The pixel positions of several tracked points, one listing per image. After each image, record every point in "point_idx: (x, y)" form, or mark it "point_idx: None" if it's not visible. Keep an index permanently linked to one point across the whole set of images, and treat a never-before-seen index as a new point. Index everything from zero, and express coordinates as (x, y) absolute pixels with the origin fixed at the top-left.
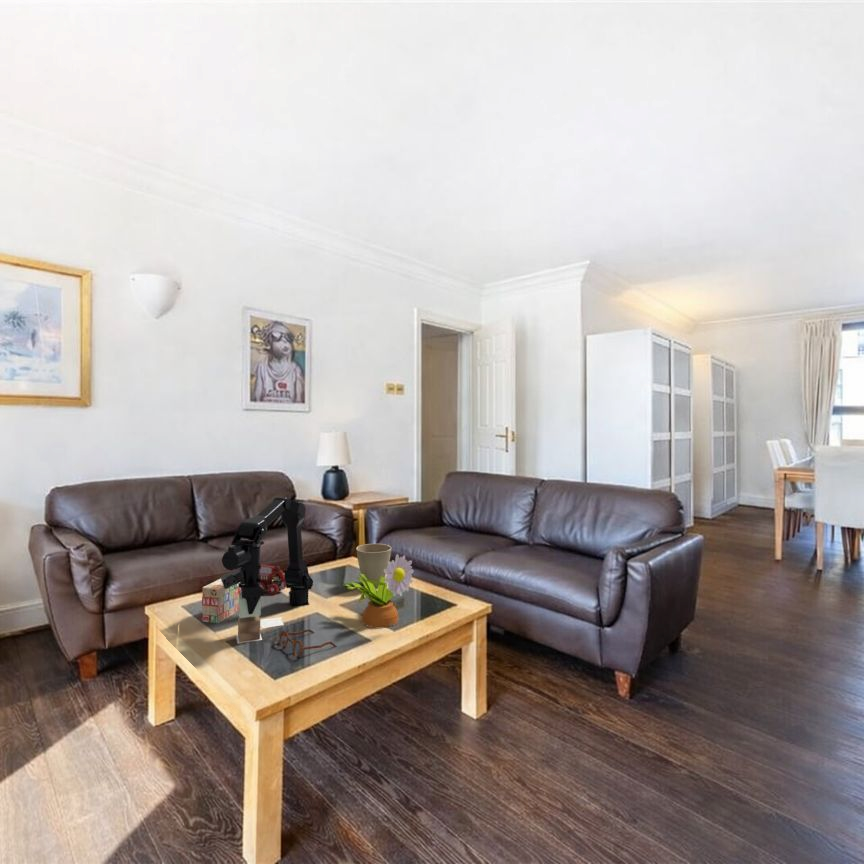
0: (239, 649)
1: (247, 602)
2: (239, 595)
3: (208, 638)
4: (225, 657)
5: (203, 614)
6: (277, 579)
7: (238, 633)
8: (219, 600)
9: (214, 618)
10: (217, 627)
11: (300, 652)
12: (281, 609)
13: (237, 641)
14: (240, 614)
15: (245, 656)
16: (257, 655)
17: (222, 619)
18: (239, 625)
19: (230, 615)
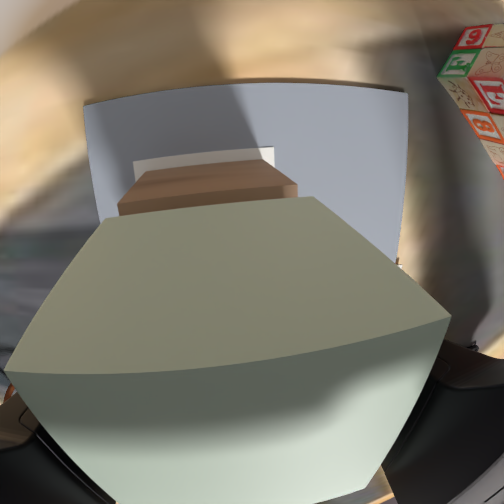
0: (76, 177)
1: (9, 408)
2: (292, 344)
3: (279, 7)
4: (12, 122)
5: (490, 28)
6: None
7: (227, 165)
8: None
9: (462, 65)
10: (406, 68)
11: (7, 396)
12: (447, 331)
13: (160, 159)
14: (96, 237)
15: (9, 213)
16: (16, 263)
17: (463, 104)
18: (154, 190)
19: (487, 147)
